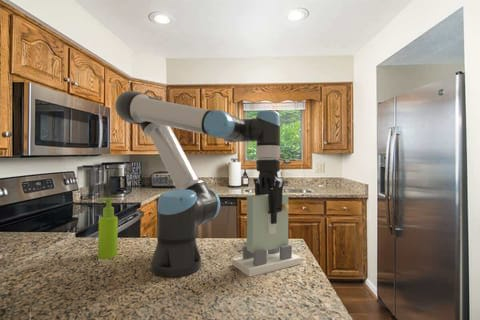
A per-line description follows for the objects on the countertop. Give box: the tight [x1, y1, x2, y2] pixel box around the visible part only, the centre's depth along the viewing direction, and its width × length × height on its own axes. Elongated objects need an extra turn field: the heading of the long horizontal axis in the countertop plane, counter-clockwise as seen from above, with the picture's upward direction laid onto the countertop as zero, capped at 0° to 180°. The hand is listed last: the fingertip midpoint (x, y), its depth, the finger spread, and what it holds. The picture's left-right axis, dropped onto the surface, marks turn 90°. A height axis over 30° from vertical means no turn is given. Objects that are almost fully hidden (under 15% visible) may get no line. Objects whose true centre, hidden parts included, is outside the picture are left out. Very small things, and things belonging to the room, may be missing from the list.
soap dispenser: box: [96, 197, 119, 260], centre depth 91 cm, size 6×7×20 cm
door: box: [246, 193, 290, 253], centre depth 85 cm, size 14×5×17 cm, turn 121°
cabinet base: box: [231, 244, 302, 278], centre depth 85 cm, size 20×10×6 cm, turn 121°
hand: (267, 231), depth 85 cm, fingers closed on door, 3 cm apart
